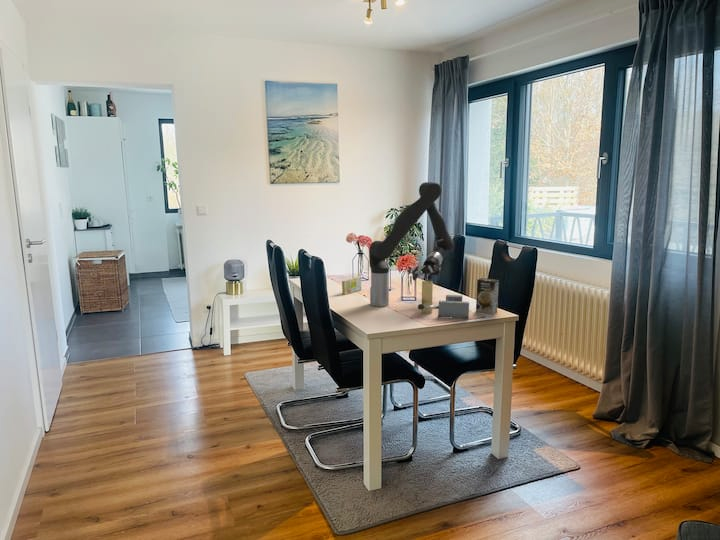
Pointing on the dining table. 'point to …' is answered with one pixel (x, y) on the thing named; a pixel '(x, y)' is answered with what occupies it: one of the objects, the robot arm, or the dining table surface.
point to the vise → (450, 309)
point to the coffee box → (487, 295)
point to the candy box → (351, 285)
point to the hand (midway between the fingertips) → (421, 278)
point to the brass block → (427, 295)
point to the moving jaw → (454, 298)
